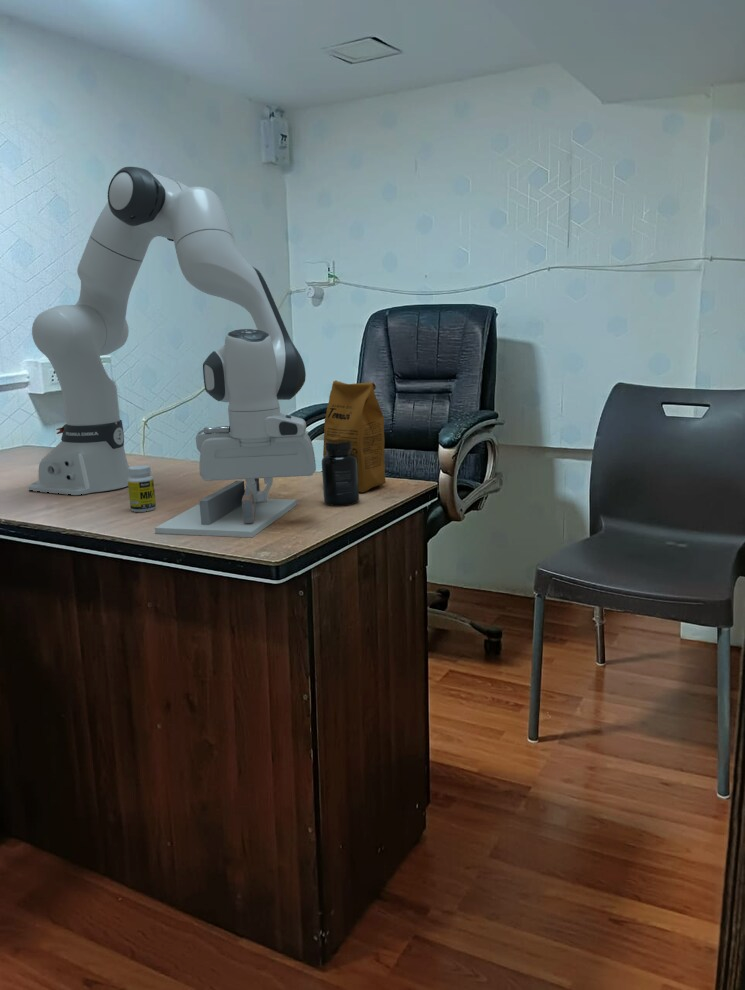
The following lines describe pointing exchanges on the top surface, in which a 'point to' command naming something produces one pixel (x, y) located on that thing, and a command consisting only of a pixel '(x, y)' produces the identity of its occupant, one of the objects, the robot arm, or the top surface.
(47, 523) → the top surface
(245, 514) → the tongs jaw
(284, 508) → the board
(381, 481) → the coffee package
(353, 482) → the supplement bottle
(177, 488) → the top surface
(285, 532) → the top surface
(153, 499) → the supplement bottle
